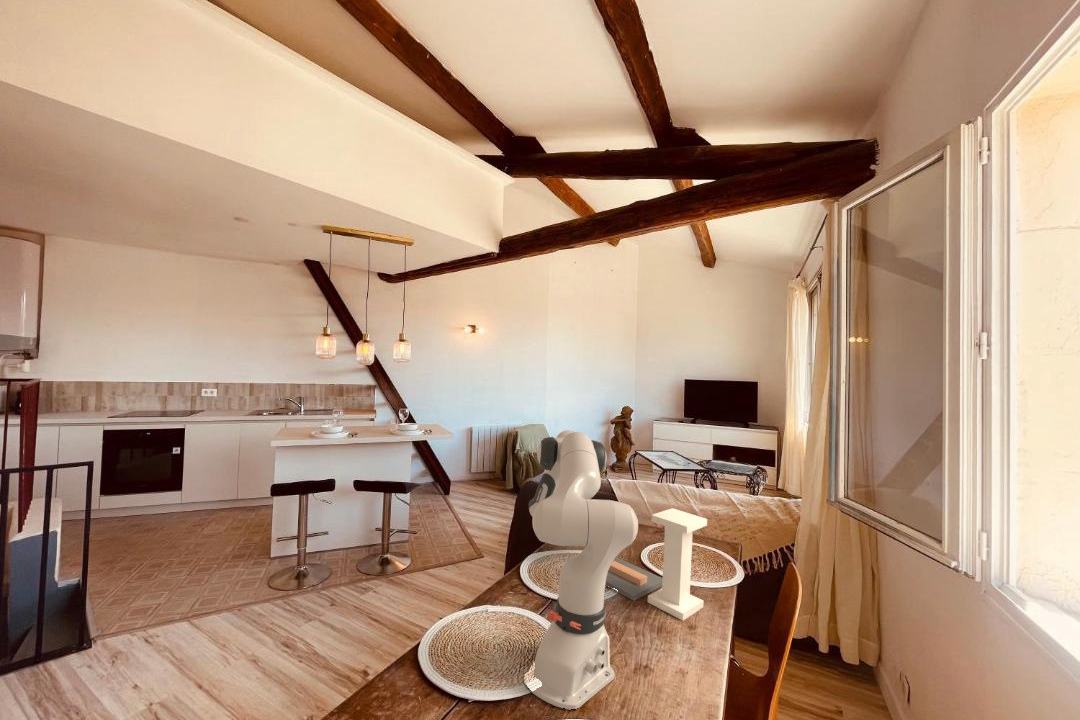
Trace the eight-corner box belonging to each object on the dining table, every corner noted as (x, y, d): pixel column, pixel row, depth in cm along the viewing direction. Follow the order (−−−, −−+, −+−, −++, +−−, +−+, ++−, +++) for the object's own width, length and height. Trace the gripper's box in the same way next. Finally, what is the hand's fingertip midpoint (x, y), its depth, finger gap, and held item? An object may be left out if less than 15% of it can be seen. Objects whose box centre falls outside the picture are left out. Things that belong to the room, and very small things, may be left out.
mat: (573, 568, 151) (573, 564, 151) (606, 556, 163) (606, 552, 163) (633, 601, 132) (633, 596, 132) (665, 584, 144) (665, 579, 144)
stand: (647, 602, 132) (651, 514, 132) (668, 590, 140) (672, 508, 140) (682, 620, 123) (687, 526, 123) (703, 607, 131) (707, 519, 131)
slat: (585, 559, 156) (585, 553, 157) (592, 556, 159) (592, 550, 159) (640, 586, 139) (640, 579, 139) (647, 582, 141) (647, 576, 141)
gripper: (559, 514, 157) (586, 525, 146) (595, 504, 170) (623, 514, 160) (558, 531, 157) (585, 544, 146) (594, 520, 170) (622, 531, 160)
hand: (605, 528), depth 153 cm, fingers open, 8 cm apart
